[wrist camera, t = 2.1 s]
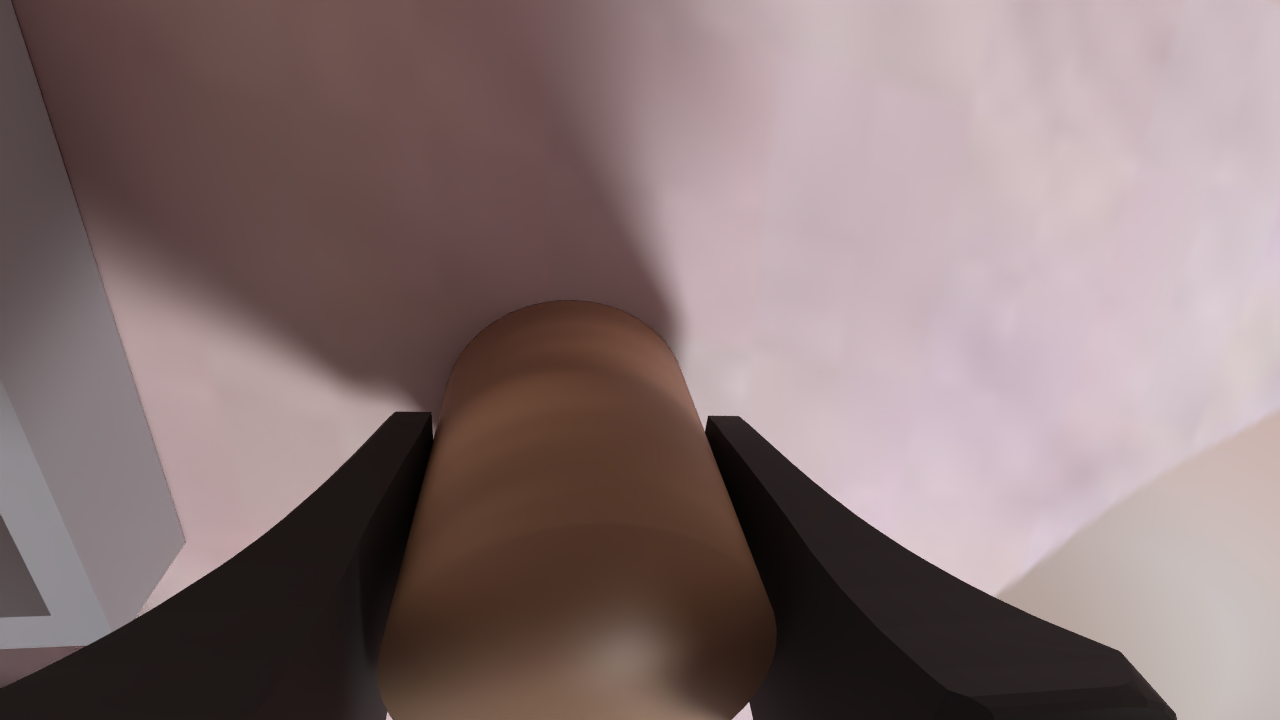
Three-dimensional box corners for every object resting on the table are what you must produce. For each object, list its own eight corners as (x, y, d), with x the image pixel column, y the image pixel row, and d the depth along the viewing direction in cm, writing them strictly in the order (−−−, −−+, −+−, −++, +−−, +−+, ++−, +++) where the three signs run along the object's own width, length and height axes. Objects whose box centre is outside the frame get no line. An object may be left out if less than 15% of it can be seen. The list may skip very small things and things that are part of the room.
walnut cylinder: (450, 502, 14) (394, 796, 9) (439, 294, 12) (354, 527, 6) (670, 500, 15) (738, 766, 10) (702, 306, 12) (817, 519, 7)
